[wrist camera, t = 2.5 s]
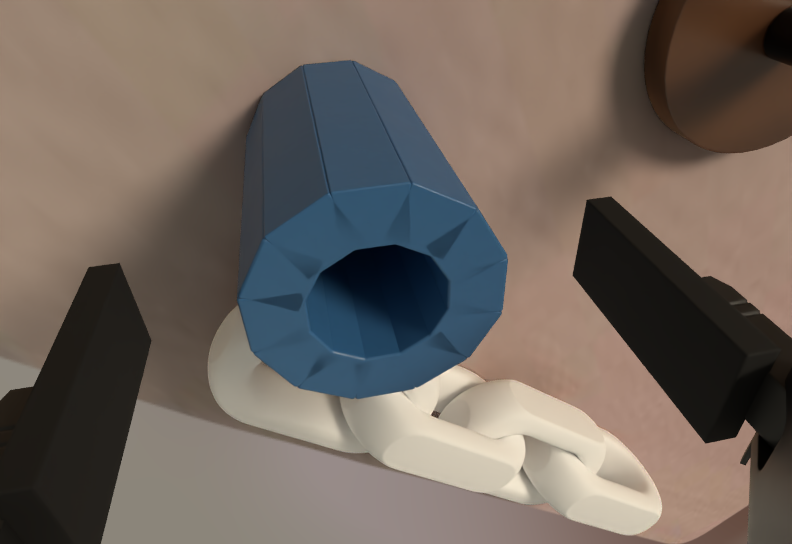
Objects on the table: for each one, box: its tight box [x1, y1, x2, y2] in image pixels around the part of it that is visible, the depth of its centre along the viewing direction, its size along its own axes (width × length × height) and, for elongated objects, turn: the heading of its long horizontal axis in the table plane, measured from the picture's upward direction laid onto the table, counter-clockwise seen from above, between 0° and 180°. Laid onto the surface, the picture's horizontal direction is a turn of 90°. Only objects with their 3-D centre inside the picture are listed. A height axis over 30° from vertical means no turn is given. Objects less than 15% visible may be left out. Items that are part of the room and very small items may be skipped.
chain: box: [208, 305, 662, 535], centre depth 29 cm, size 30×6×6 cm, turn 53°
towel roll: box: [237, 60, 508, 399], centre depth 18 cm, size 7×7×10 cm
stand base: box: [644, 0, 792, 153], centre depth 22 cm, size 10×10×2 cm
